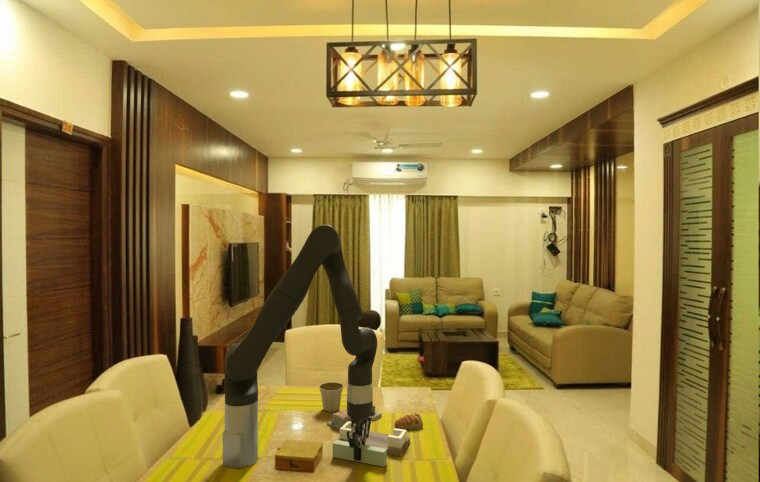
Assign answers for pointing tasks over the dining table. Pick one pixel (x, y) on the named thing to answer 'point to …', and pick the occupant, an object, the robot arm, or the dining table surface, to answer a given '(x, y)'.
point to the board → (383, 443)
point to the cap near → (397, 438)
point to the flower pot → (331, 395)
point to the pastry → (409, 422)
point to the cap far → (345, 430)
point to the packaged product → (347, 418)
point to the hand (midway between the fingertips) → (359, 457)
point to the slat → (367, 453)
